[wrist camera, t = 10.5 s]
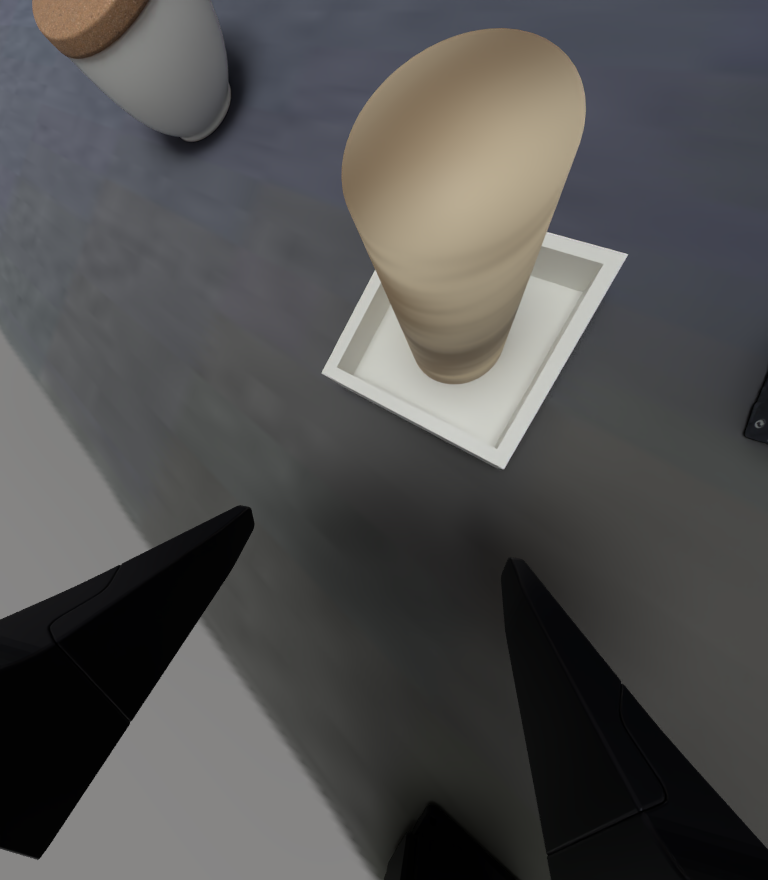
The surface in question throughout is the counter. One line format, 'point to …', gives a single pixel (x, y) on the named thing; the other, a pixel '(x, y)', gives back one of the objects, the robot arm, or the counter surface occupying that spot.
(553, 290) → the tray
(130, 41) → the lidded bowl
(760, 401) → the small box
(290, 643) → the counter surface
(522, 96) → the canister
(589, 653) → the robot arm
